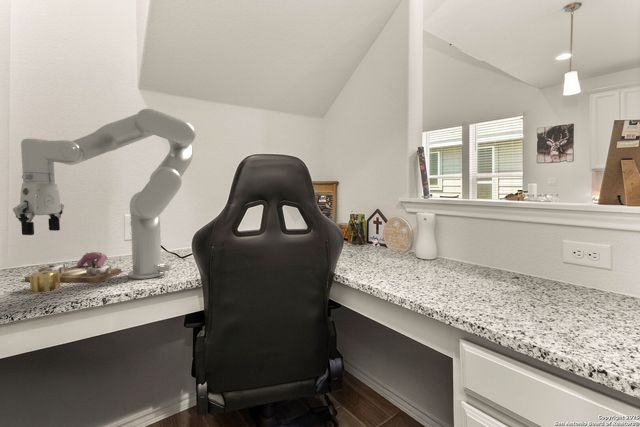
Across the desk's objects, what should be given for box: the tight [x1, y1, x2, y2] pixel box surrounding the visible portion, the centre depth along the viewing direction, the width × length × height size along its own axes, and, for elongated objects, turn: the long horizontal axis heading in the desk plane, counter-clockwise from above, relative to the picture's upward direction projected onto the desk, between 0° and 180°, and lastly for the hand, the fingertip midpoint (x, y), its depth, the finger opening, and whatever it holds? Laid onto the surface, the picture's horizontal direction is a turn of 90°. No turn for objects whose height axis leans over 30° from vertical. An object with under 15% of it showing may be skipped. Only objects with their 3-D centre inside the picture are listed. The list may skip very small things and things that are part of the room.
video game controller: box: [76, 251, 108, 268], centre depth 131 cm, size 10×5×7 cm, turn 84°
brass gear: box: [29, 270, 61, 293], centre depth 103 cm, size 7×7×5 cm
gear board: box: [24, 259, 123, 283], centre depth 116 cm, size 26×12×6 cm, turn 91°
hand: (41, 232), depth 102 cm, fingers open, 9 cm apart
